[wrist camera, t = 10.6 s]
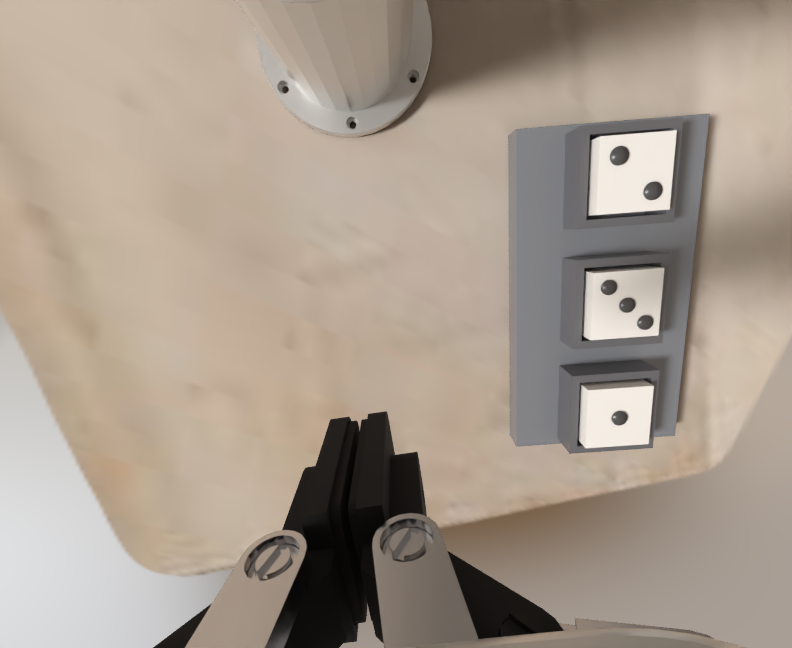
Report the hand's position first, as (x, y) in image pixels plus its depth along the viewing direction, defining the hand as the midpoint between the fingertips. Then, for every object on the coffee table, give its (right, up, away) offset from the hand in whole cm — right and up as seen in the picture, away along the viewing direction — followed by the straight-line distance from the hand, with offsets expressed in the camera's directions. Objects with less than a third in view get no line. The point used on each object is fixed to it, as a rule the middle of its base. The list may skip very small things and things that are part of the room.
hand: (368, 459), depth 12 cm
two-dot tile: (+17, +15, +18) cm, 29 cm away
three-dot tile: (+18, +6, +20) cm, 27 cm away
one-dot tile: (+18, -3, +22) cm, 29 cm away
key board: (+18, +7, +22) cm, 29 cm away
